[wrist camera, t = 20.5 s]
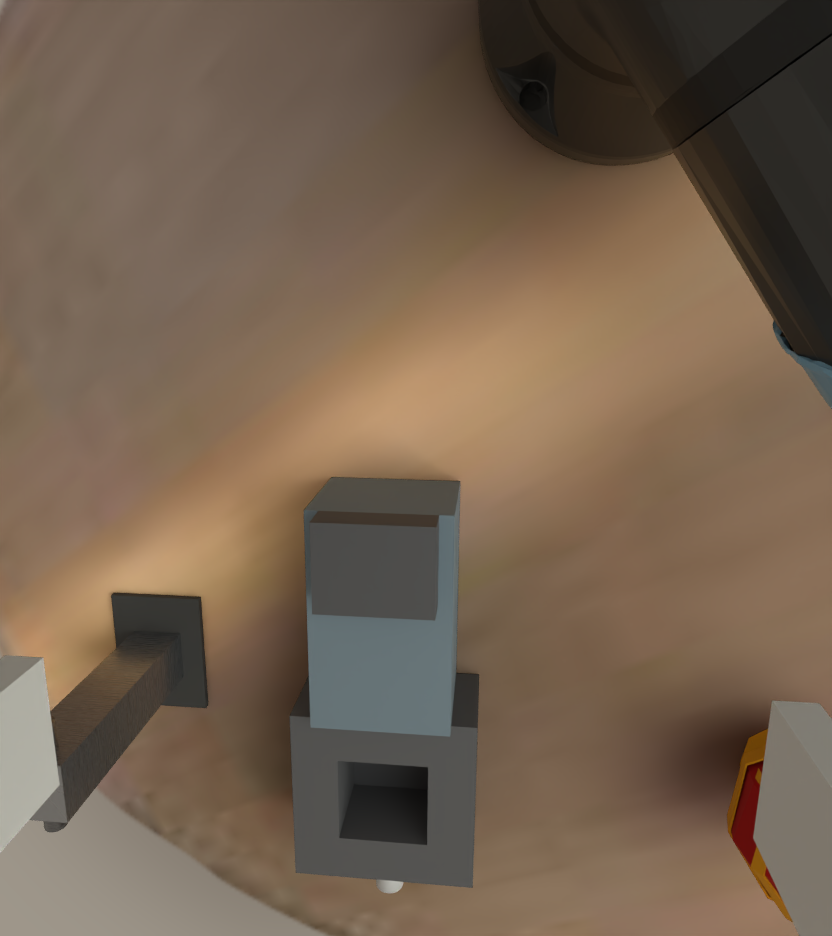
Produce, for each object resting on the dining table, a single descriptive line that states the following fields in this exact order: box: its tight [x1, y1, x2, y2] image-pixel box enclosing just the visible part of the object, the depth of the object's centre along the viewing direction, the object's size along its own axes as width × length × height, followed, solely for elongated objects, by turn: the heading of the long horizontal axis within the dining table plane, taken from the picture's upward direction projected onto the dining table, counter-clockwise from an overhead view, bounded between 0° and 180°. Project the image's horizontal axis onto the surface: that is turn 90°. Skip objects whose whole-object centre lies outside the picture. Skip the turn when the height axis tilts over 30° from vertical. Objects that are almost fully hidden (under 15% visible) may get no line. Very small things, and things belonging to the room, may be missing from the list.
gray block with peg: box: [29, 631, 184, 832], centre depth 42 cm, size 3×6×14 cm, turn 0°
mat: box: [111, 593, 208, 708], centre depth 49 cm, size 8×6×1 cm
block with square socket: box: [290, 477, 479, 893], centre depth 44 cm, size 27×11×9 cm, turn 0°
